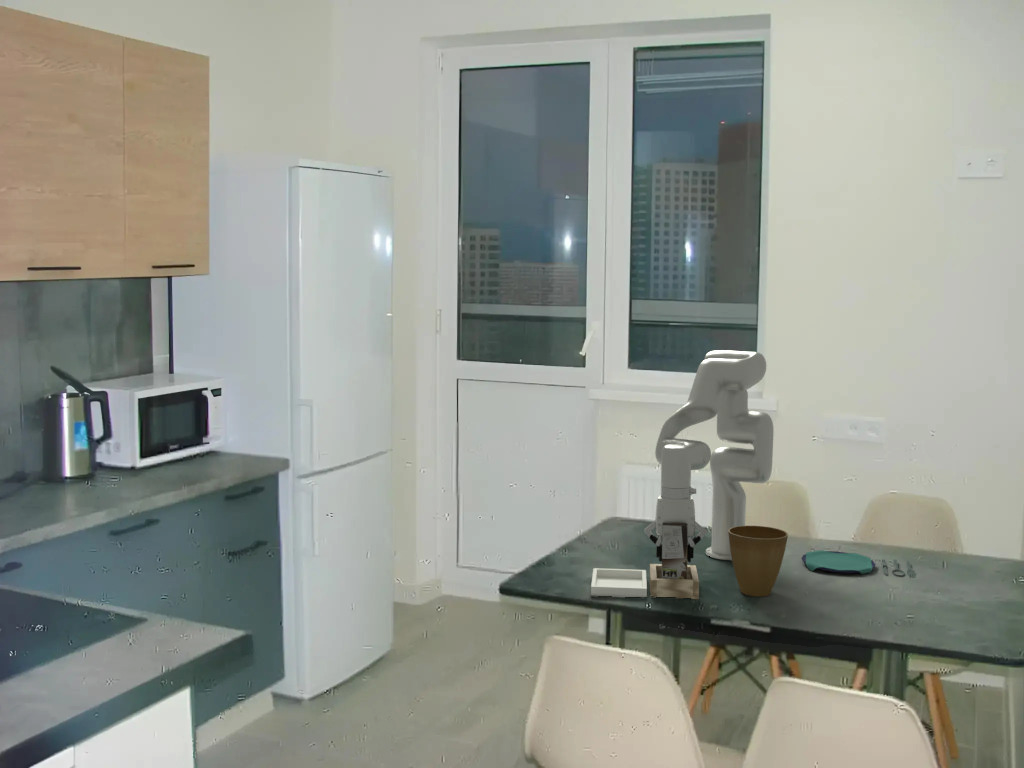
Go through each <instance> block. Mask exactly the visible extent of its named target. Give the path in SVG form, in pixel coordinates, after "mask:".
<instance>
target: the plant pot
mask: <svg viewBox="0 0 1024 768" xmlns="http://www.w3.org/2000/svg"><path fill="white" fill-rule="evenodd" d="M728 534H729V544H730V551H731V557H732V560H731V562H732V566H733V570H734V574H735V578H736V581H737V584H738V588H739V590H740V592H741V594H743V595H745V596H749V597H761V598H762V597H767V596H770V595H771V593H772V590H773V588H774V586H775V583H776V581H777V578H778V576H779V573H780V570H781V568H782V564H783V560H784V555H785V552H786V547H787V542H788V537H789V533H788V532H787V531H786V530H783V529H780V528H776V527H770V526H764V525H745V526H736V527H732V528H730V529H729V530H728Z"/></svg>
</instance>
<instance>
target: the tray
mask: <svg viewBox="0 0 1024 768" xmlns="http://www.w3.org/2000/svg"><path fill="white" fill-rule="evenodd" d="M591 576H592V578H591V584H590V596H591V597H598V596H612V597H611V598H625V597H648V593H647V592H648V586H647V585H648V583H647V569H627V568H624V569H623V568H600V567H599V568H598V567H597V568H596V567H595V568H594V567H593V569H592V575H591Z"/></svg>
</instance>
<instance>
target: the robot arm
mask: <svg viewBox="0 0 1024 768" xmlns="http://www.w3.org/2000/svg"><path fill="white" fill-rule="evenodd" d="M766 371H767V361H766V358H765V356H764V355H763V354H762V353H760V352H758V351H757V352H756V351H749V350H748V351H747V350H746V351H745V350H743V351H742V350H741V351H740V350H729V349H727V350H723V349H721V350H719V349H717V350H711V351H709V352H707V353H706V354H705V356H704V360H702V361H701V362H700V364H699V365H698V368H697V371H696V373H695V377H694V380H693V383H692V387H691V389H690V392H689V396H688V399H687V402H686V403H685V404H684V405H683V406H681V407H680V408H678V409H677V410H676V411H675V412H674V413H673V414H671V415H670V416H669V417H668V418H667V419H666V420H665V422H664V423H663V425H662V427H661V429H660V433H659V435H658V439H657V441H656V445H655V452H654V454H655V459H656V462H658V464H660V467H661V468H660V475H661V476H660V495H659V496H657V500H656V505H655V506H656V507H655V517H654V518H655V520H654V521H652V522H651V523H650V524H649V525H648V526H646V527H645V528H644V530H643V532H644V534H645V535H646V536H647V537H648V538H649V539H650V540H651V542H652V543H653V544H654V545H655V547H656V548H655V549H656V552H655V553H656V555H655V556H656V558H658V562H660V563H662V524H663V523H686V524H687V532H688V533H687V537H688V554H687V563H691V562H692V560H691V559H694V548H695V546H696V545H697V544H699V542H700V541H701V539H703V538H704V537H705V536H706V535H707V530H706V529H705V528H704V527H703V526H701V525H700V523H698V522H697V521H696V511H695V510H696V509H695V500H694V497H693V496H692V495H695V494H697V488H693V487H692V486H691V484H692V483H691V482H692V477H691V476H692V471H697V470H698V471H699V470H702V469H704V468H705V467H707V466H708V464H709V468H710V473H711V475H710V476H711V481H712V482H711V483H712V503H711V504H712V505H711V509H712V510H711V539H710V540H711V541H710V542H711V544H710V545H711V546H709V547H706V549H705V554H706V556H708V557H709V556H710V558H712V559H717V560H720V561H721V560H722V561H732V557H731V551H730V544H729V534H728V530H729V529H730V528H732V527H736V526H746V513H747V511H746V509H747V508H746V507H747V506H746V505H747V495H746V492H745V489H744V488H743V487H742V485H741V482H742V483H750V484H751V483H752V484H764V483H767V482H768V481H769V480H770V479H771V477H772V469H773V454H774V452H773V451H774V450H773V449H774V423H773V419H772V417H771V416H770V414H768V412H767V413H766V412H763V411H756V410H755V411H754V410H749V408H748V407H749V405H748V402H749V401H748V400H749V398H748V397H749V392H748V390H749V389H751V388H752V387H754V386H755V385H757V384H758V383H760V382H761V381H762V380H763V378H764V376H765V374H766ZM715 417H716V433H717V434H716V435H717V437H718V438H719V440H721V441H722V442H727V443H733V444H734V443H735V444H744V445H752V446H753V449H752V448H744V447H734V446H721V447H718V448H716V449H714V450H713V451H711V448H710V447H709V445H708V444H707V443H706V442H704V441H701V440H694V439H692V440H691V439H685V438H676V437H677V436H678V434H679V433H681V432H682V431H684V430H685V429H687V428H690V427H692V426H694V425H697V424H700V423H704V422H707V421H709V420H711V419H713V418H715ZM654 529H655V534H656V536H655V534H654V533H653V532H652V531H653V530H654ZM696 530H697V531H698V532H699V533H697V535H696ZM693 536H694V537H693Z"/></svg>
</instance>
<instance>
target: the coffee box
mask: <svg viewBox="0 0 1024 768" xmlns="http://www.w3.org/2000/svg"><path fill="white" fill-rule="evenodd" d="M687 533H688V532H687V524H686V523H663V524H662V542H661V544H662V561H661V564H662V579H687V565H688V559H687V554H688V544H689V542H688V537H687Z"/></svg>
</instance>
